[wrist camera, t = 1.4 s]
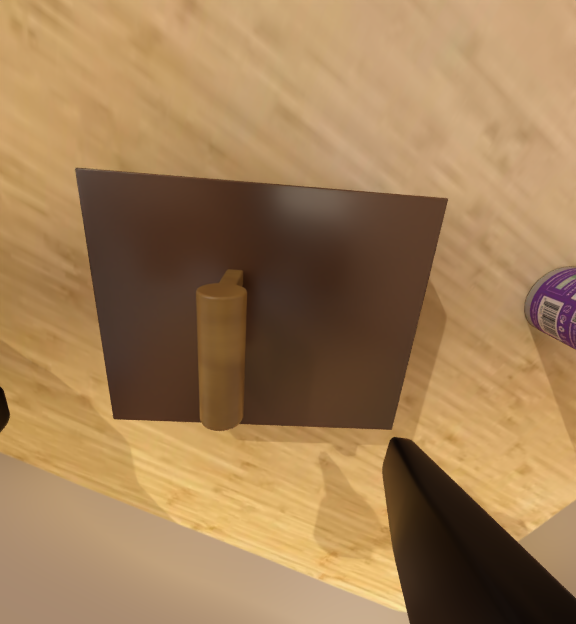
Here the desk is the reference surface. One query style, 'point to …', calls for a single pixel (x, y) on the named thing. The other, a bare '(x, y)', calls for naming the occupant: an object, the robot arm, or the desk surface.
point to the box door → (255, 298)
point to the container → (554, 305)
